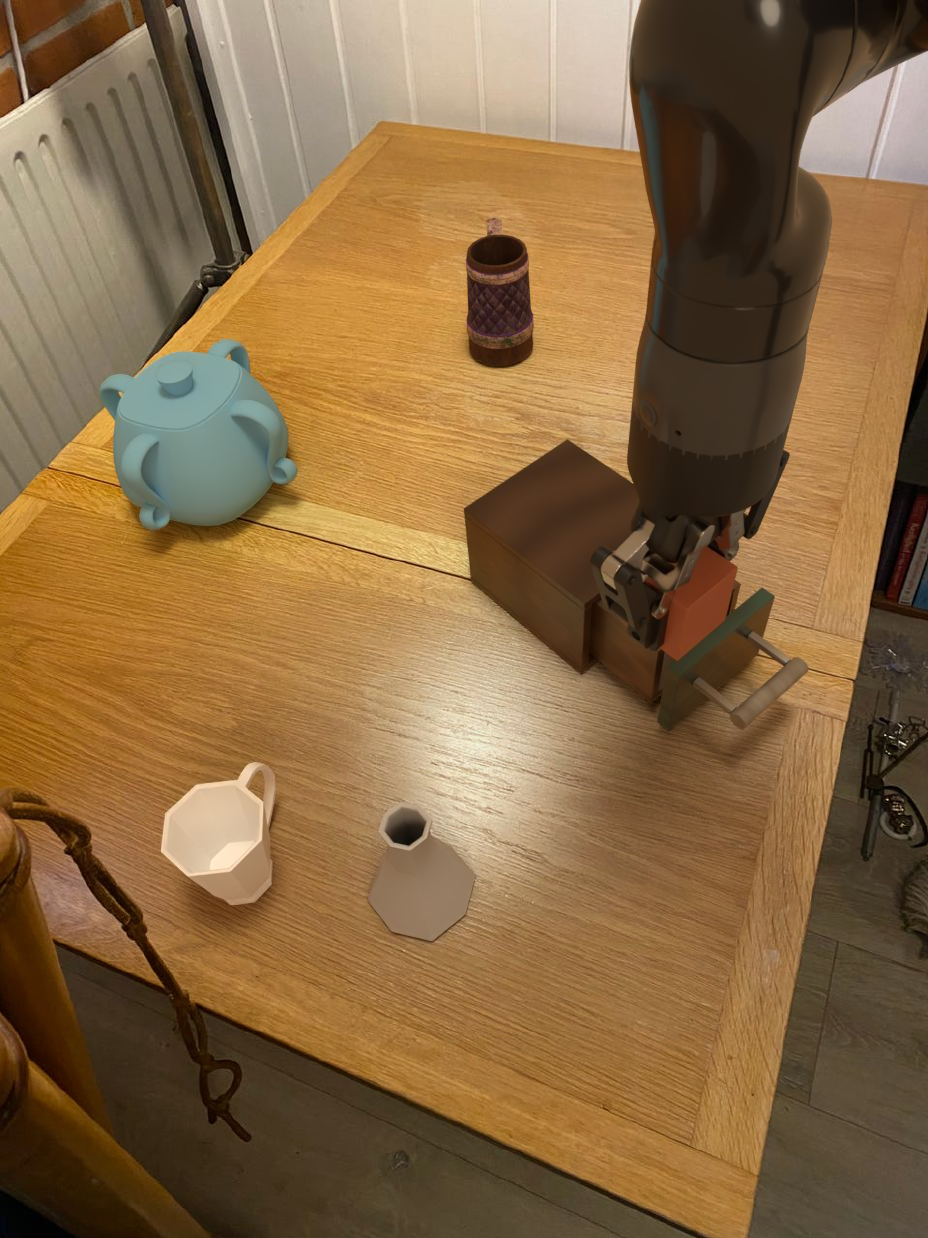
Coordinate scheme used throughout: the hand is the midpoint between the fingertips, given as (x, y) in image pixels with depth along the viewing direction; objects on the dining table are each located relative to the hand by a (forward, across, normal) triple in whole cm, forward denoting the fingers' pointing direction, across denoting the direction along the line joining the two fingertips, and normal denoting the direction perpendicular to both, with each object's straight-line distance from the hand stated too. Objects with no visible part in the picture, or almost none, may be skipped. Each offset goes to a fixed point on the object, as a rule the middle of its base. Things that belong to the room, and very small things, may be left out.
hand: (674, 616), depth 59 cm
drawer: (+16, +7, +4) cm, 17 cm away
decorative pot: (+17, -8, +49) cm, 53 cm away
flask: (+17, -20, +4) cm, 26 cm away
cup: (+17, -27, +14) cm, 35 cm away
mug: (+17, +27, +46) cm, 55 cm away
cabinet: (+17, +7, +15) cm, 24 cm away
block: (0, 0, 0) cm, 0 cm away
